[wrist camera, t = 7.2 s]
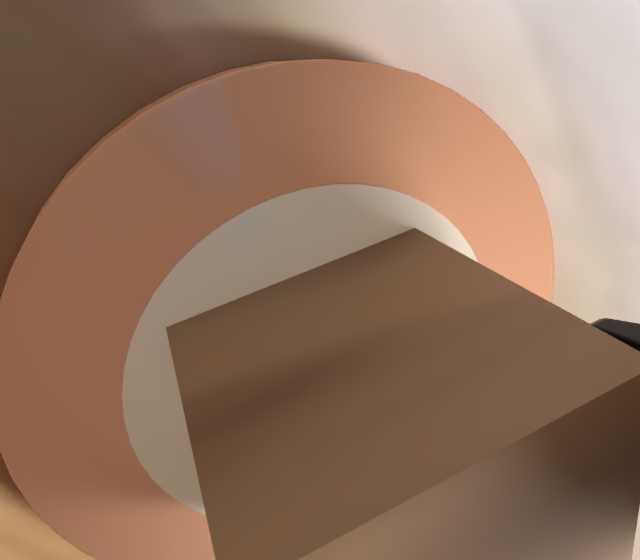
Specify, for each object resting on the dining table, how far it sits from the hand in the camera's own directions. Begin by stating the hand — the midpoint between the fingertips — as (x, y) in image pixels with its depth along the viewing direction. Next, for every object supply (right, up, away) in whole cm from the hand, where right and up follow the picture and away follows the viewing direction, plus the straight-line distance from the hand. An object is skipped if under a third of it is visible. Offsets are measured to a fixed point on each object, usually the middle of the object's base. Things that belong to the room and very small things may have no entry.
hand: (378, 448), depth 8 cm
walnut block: (-1, +1, +2) cm, 2 cm away
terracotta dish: (-1, +1, +3) cm, 4 cm away
